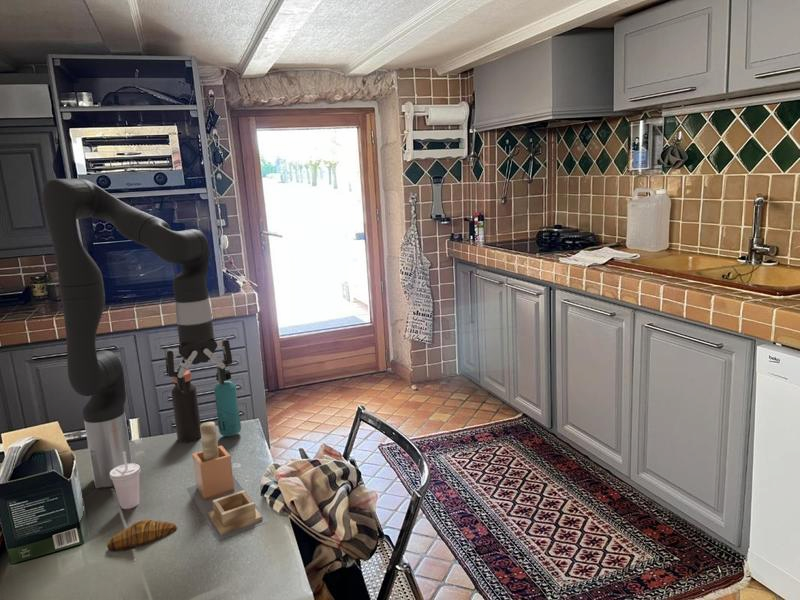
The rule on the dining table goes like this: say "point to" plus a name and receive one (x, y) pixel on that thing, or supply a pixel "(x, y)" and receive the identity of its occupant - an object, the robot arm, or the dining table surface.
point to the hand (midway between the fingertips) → (202, 387)
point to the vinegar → (186, 411)
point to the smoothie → (126, 483)
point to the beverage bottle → (227, 407)
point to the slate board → (207, 507)
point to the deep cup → (213, 474)
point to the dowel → (209, 441)
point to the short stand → (234, 512)
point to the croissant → (140, 534)
